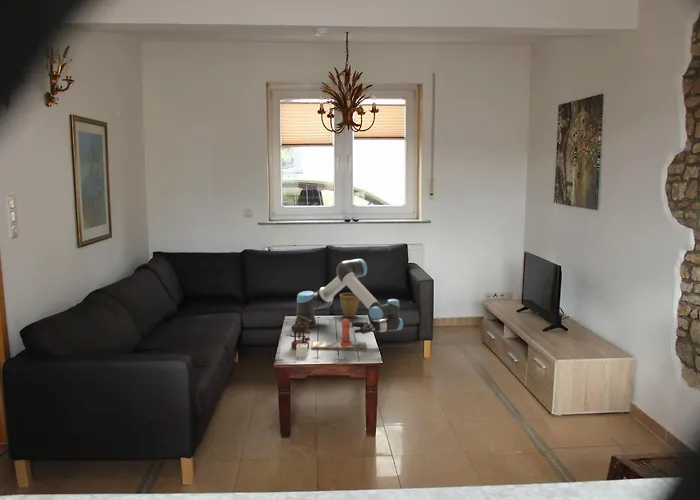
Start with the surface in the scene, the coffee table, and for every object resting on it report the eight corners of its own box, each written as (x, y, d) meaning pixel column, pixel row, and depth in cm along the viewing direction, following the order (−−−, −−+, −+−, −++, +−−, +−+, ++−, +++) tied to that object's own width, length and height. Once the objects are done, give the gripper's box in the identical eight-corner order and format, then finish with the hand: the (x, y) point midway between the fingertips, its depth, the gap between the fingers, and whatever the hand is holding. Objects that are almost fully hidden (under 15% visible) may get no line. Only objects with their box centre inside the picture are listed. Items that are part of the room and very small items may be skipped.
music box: (311, 344, 362) (311, 313, 357) (311, 351, 351) (312, 319, 347) (286, 345, 360) (286, 313, 356) (285, 352, 350) (285, 319, 345)
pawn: (339, 346, 354) (339, 319, 352) (340, 342, 361) (340, 316, 359) (351, 346, 354) (351, 320, 352) (351, 342, 361) (351, 317, 359)
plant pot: (353, 319, 424) (354, 297, 422) (335, 316, 431) (336, 295, 429) (363, 315, 437) (363, 294, 435) (345, 312, 444) (345, 291, 442)
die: (296, 356, 338) (296, 346, 337) (297, 353, 344) (297, 343, 343) (306, 356, 338) (306, 346, 337) (307, 353, 344) (307, 343, 343)
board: (311, 349, 352) (311, 347, 352) (312, 343, 364) (312, 341, 364) (366, 350, 352) (366, 347, 352) (366, 344, 364) (366, 341, 364)
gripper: (386, 337, 352) (352, 340, 345) (370, 326, 375) (338, 329, 368) (386, 324, 351) (352, 327, 344) (370, 315, 374) (338, 317, 367)
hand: (345, 328), depth 356 cm, fingers open, 13 cm apart
